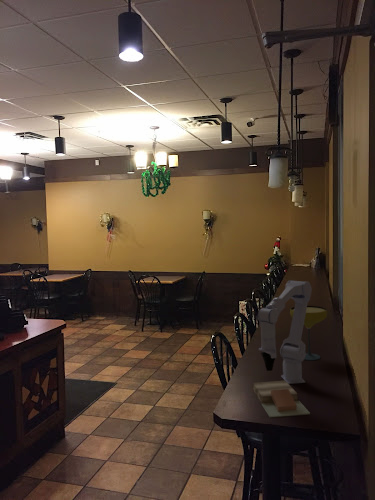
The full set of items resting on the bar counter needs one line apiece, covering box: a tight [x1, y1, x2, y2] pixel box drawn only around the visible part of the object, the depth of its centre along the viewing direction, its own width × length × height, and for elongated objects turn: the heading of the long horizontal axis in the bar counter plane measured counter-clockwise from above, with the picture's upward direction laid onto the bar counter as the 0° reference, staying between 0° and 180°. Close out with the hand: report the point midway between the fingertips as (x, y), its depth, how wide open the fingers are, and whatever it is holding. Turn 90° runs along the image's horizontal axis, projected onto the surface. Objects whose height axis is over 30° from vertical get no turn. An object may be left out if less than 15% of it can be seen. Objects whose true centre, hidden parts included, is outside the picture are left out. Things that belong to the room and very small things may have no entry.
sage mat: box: [260, 400, 311, 419], centre depth 155 cm, size 11×15×1 cm
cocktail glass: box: [289, 305, 328, 361], centre depth 213 cm, size 18×18×25 cm
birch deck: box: [252, 380, 298, 404], centre depth 168 cm, size 14×14×3 cm
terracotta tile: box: [271, 389, 297, 411], centre depth 157 cm, size 9×7×2 cm
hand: (269, 370), depth 170 cm, fingers closed
